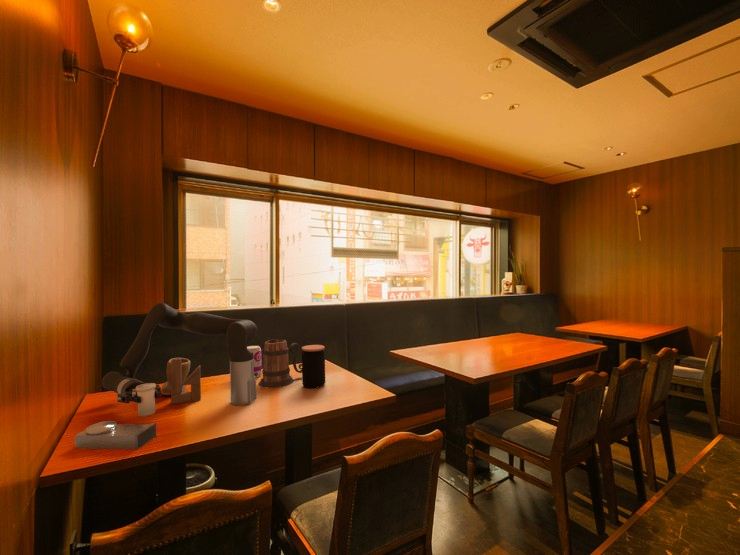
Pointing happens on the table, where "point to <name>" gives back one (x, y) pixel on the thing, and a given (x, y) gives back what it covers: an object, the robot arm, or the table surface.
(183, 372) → the stone cup
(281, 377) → the tankard
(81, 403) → the table surface
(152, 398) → the white flanged cylinder
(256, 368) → the supplement can
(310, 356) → the coffee jar
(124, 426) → the grey soap dish block
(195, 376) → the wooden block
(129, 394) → the robot arm
